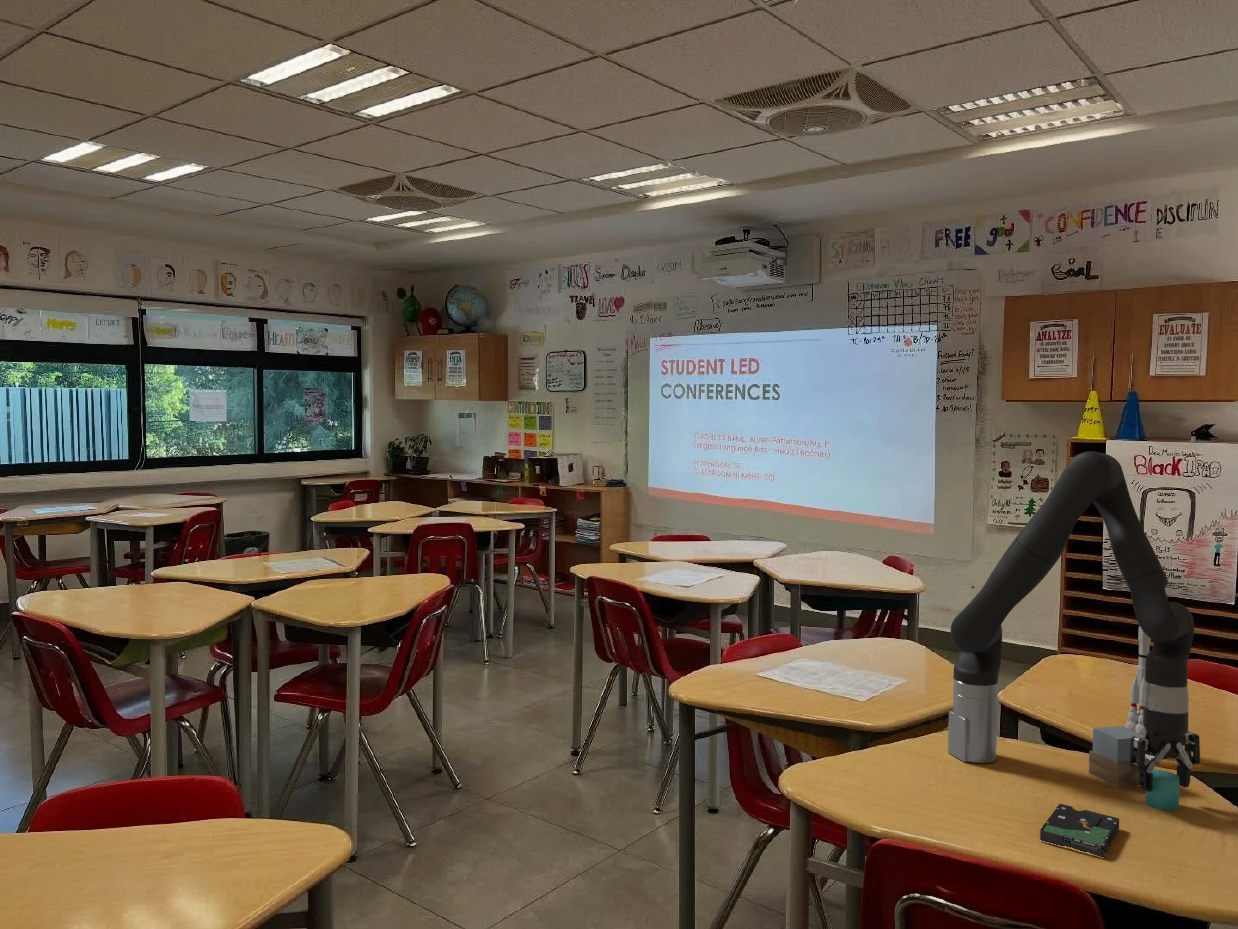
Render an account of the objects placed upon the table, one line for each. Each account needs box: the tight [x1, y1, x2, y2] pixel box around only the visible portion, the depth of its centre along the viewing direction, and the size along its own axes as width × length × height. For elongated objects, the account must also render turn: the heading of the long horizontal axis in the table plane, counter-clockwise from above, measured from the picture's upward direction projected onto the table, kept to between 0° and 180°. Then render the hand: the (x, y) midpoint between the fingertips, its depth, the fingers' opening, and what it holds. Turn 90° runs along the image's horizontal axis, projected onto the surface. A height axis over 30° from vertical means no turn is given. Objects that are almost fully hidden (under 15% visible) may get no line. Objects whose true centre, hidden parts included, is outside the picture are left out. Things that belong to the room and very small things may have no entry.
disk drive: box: [1039, 803, 1120, 858], centre depth 160 cm, size 10×3×15 cm
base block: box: [1088, 750, 1150, 789], centre depth 187 cm, size 8×8×5 cm
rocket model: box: [1124, 626, 1152, 736], centre depth 203 cm, size 7×7×30 cm
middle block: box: [1092, 725, 1145, 763], centre depth 187 cm, size 7×7×5 cm
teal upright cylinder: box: [1145, 769, 1180, 812], centre depth 173 cm, size 6×6×6 cm
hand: (1164, 788), depth 173 cm, fingers open, 8 cm apart
